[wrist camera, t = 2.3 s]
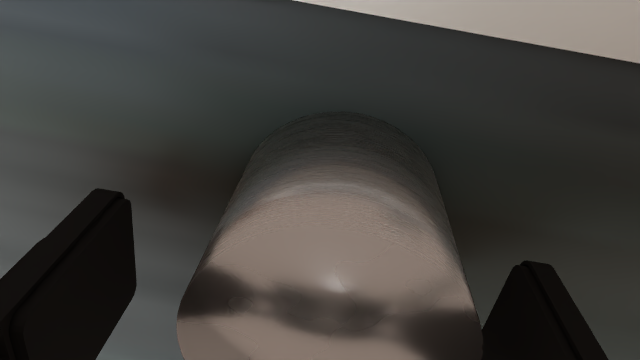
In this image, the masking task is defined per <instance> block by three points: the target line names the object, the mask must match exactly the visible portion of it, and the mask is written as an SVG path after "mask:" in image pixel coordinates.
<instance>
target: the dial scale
mask: <svg viewBox="0 0 640 360" xmlns="http://www.w3.org/2000/svg"><path fill="white" fill-rule="evenodd" d="M294 1H300V2H305V3H311V4H316V5H322V6H327V7H333V8H338V9H344V10H349V11H355V12H360V13H366V14H371V15H377V16H382V17H388V18H393V19H399V20H404V21H410V22H415V23H421V24H426V25H432V26H437V27H443V28H448V29H454V30H459V31H465V32H470V33H476V34H481V35H487V36H492V37H498V38H503V39H509V40H514V41H520V42H525V43H531V44H536V45H542V46H547V47H553V48H558V49H564V50H569V51H575V52H580V53H586V54H591V55H597V56H602V57H608V58H613V59H619V60H624V61H630V62H635V63H640V0H294Z"/></svg>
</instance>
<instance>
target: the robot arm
mask: <svg viewBox="0 0 640 360" xmlns="http://www.w3.org/2000/svg"><path fill="white" fill-rule="evenodd" d="M135 290H136V268H135V254H134V239H133V224H132V210H131V202H130V200H127V199H125V198H124V195H123V193H121V192H116V191H111V190H105V189H99V188H98V189H95V190H93V191H92V192H91V193H90V194H89V195H88V196H87V197H86V198H85V199H84V200H83V201H82V202H81V203H80V204H79V205H78V206H77V207H76V208H75V209H74V210H73V211H72V212H71V213H70V214H69V215H68V216H67V217H66V218H65V219H64V220H63V221H62V222H61V223H60V224H59V225H58V226H57V227H56V228H55V229H54V230H53V231H52V232H51V233H50V234H49V235H48V236H47V237H46V238H43V239H42V240H41V241H39V242H38V243H37V244H36V245H35V246H34V247H33V248H32V249H31V250H30V251H29V252H28V253H27V254H26V255H25V256H24V257H23V258H21V259H20V260H19V261H18V262H17V263H16V264H15V265H14V266H13V267H12V268H11V269H10V270H9V271H8V272H7V273H6V274H5V275H4V276H3V277H2V278H1V279H0V360H95V359H96V358H97V356H98V354H99V353H100V351H101V349H102V348H103V346H104V344H105V343H106V341H107V339H108V338H109V336H110V335H111V333H112V331H113V330H114V328H115V326H116V325H117V323H118V321H119V320H120V318H121V316H122V315H123V313H124V311H125V310H126V308H127V306H128V305H129V303H130V301H131V300H132V298H133V296H134V293H135ZM482 336H483V354H482V359H481V360H608V358H607V356H606V355H605V353H604V351H603V350H602V348H601V346H600V345H599V343H598V341H597V340H596V338H595V336H594V335H593V333H592V331H591V330H590V328H589V326H588V325H587V323H586V321H585V320H584V318H583V316H582V315H581V313H580V311H579V310H578V308H577V306H576V305H575V303H574V301H573V300H572V298H571V296H570V295H569V293H568V291H567V290H566V288H565V286H564V285H563V283H562V281H561V280H560V278H559V276H558V275H557V273H556V271H555V270H554V268H553V267H552V266H551V265H549V264H544V263H538V262H532V261H523V262H522V263H521V264H520V265H515V266H514V267H513V269H512V270H511V272H510V274H509V276H508V278H507V280H506V282H505V285H504V287H503V289H502V291H501V293H500V295H499V297H498V299H497V301H496V303H495V305H494V307H493V309H492V311H491V313H490V315H489V317H488V319H487V321H486V323H485V325H484V327H483V329H482Z"/></svg>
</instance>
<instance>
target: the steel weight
mask: <svg viewBox="0 0 640 360" xmlns="http://www.w3.org/2000/svg"><path fill="white" fill-rule="evenodd" d="M177 337H178V342H179V346H180V349H181V353H182V355H183V357H184V360H481V359H482V354H483V336H482V331H481V325H480V321H479V318H478V315H477V311H476V308H475V305H474V302H473V298H472V295H471V292H470V289H469V285H468V282H467V279H466V275H465V272H464V269H463V266H462V262H461V259H460V256H459V252H458V249H457V246H456V243H455V239H454V236H453V233H452V230H451V226H450V223H449V220H448V216H447V213H446V210H445V207H444V203H443V200H442V197H441V193H440V190H439V187H438V184H437V180H436V177H435V174H434V172H433V169H432V167H431V165H430V163H429V161H428V159H427V158H426V156H425V154H424V153H423V152H422V151H421V149H420V148H419V147H418V145H417V144H415V143H414V142H413V141H412V140H411V139H410V138H409V137H408V136H407V135H406V134H404V133H403V132H401V131H400V130H399V129H397V128H395V127H394V126H392V125H390V124H388V123H386V122H384V121H382V120H379V119H376V118H374V117H371V116H367V115H363V114H359V113H351V112H323V113H316V114H312V115H308V116H304V117H301V118H298V119H296V120H294V121H291V122H289V123H287V124H285V125H284V126H282V127H280V128H278V129H277V130H276V131H274V132H273V133H272V134H270V135H269V136H268V137H267V138H266V139H265V140H264V141H263V142H262V143H261V144H260V145H259V146H258V148H257V149H256V151H255V152H254V153H253V155H252V157H251V159H250V160H249V162H248V164H247V166H246V169H245V171H244V173H243V175H242V177H241V179H240V181H239V183H238V185H237V187H236V189H235V191H234V193H233V195H232V197H231V199H230V201H229V203H228V205H227V207H226V210H225V212H224V214H223V216H222V218H221V220H220V222H219V224H218V226H217V228H216V230H215V232H214V234H213V236H212V238H211V240H210V242H209V244H208V246H207V248H206V250H205V253H204V255H203V257H202V259H201V261H200V263H199V265H198V267H197V269H196V271H195V273H194V275H193V277H192V279H191V281H190V283H189V285H188V287H187V289H186V291H185V294H184V296H183V298H182V300H181V303H180V307H179V310H178V315H177Z"/></svg>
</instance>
